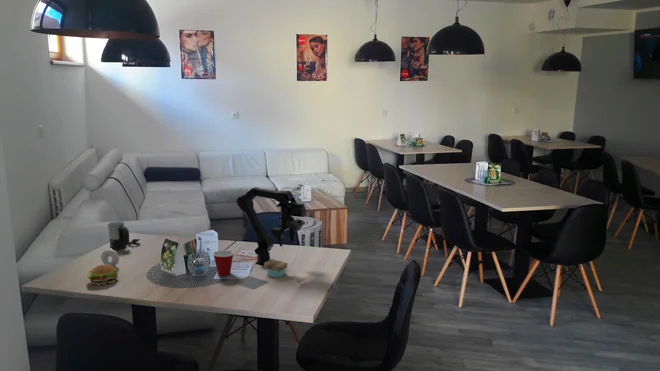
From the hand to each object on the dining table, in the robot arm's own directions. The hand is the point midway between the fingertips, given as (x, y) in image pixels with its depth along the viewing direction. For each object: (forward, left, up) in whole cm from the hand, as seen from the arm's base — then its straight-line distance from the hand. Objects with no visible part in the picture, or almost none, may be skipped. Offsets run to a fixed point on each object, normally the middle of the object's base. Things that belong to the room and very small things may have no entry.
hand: (286, 243), depth 260 cm
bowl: (+3, -13, -12) cm, 18 cm away
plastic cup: (-19, -27, -13) cm, 35 cm away
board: (+3, -13, -8) cm, 16 cm away
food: (-63, -66, -13) cm, 92 cm away
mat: (0, -28, -12) cm, 31 cm away
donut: (-78, -52, -13) cm, 95 cm away
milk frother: (-103, -27, -13) cm, 107 cm away
